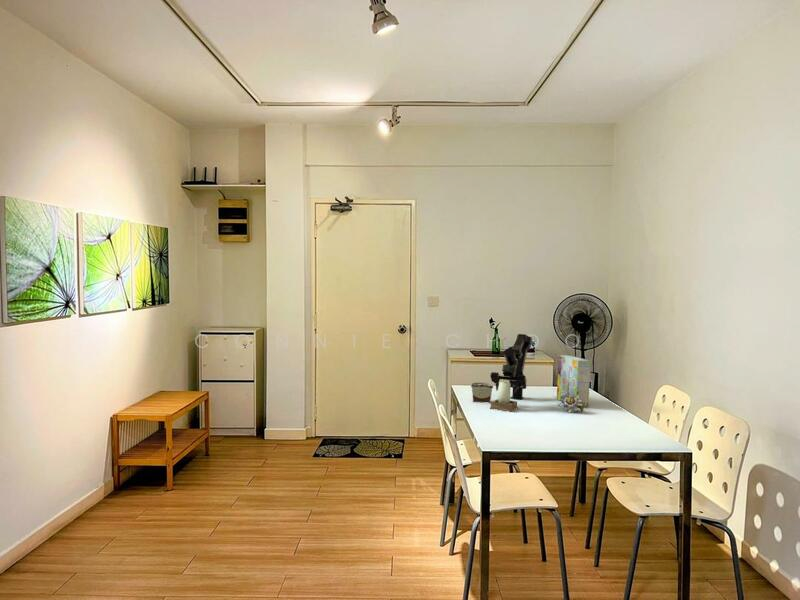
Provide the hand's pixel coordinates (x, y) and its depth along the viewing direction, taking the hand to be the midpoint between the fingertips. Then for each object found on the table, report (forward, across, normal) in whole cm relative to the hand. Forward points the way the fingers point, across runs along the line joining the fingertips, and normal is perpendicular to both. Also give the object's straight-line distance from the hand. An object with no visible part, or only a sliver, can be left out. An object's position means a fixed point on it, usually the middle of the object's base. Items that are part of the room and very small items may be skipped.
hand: (505, 391), depth 305 cm
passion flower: (-2, +32, +15) cm, 36 cm away
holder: (+7, 0, +5) cm, 9 cm away
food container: (0, -16, +13) cm, 20 cm away
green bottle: (+7, 0, +5) cm, 8 cm away
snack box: (-17, +30, +30) cm, 46 cm away
